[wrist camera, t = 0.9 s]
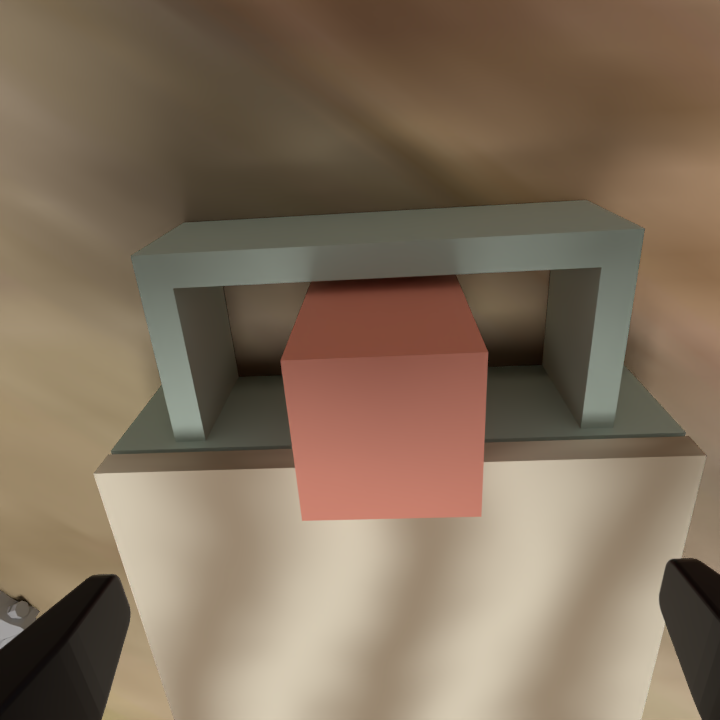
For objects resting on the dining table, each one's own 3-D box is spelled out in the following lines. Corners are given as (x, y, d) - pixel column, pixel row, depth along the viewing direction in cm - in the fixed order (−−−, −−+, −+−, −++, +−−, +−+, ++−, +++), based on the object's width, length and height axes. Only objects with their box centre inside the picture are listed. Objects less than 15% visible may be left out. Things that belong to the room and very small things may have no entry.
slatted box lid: (689, 436, 17) (740, 491, 14) (604, 807, 25) (627, 880, 23) (108, 454, 18) (66, 509, 15) (215, 804, 26) (199, 874, 24)
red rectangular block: (444, 247, 20) (488, 352, 12) (443, 359, 22) (481, 516, 13) (321, 254, 20) (280, 360, 12) (331, 363, 22) (301, 520, 14)
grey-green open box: (646, 196, 19) (731, 227, 14) (569, 695, 30) (602, 802, 25) (129, 225, 20) (53, 263, 15) (241, 697, 31) (217, 799, 26)
